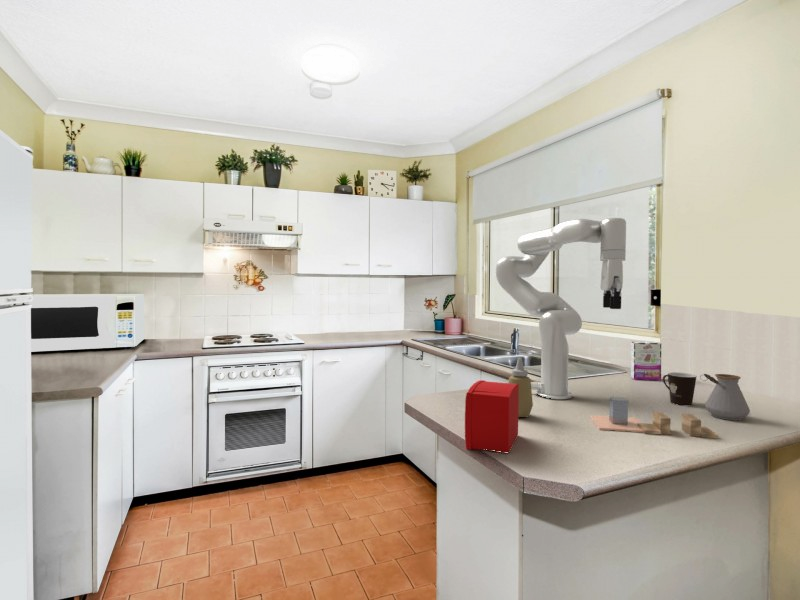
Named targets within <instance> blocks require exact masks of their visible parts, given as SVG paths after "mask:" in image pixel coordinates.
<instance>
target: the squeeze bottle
mask: <svg viewBox="0 0 800 600" xmlns="http://www.w3.org/2000/svg"><path fill="white" fill-rule="evenodd" d="M524 367H525V366H524V362H523V358H522V357H518V358H517V362H516V365H515V368H513V369H511V374H512V375H511V376H509V378H508V383H511V384H519V414H518V417H526V418H528V417H527V416H529V417H530V414H531V412H532V409H533V406H534V403H533V393H532V389H531V384H532V381H531V378H530V377H529V376H528V370H527V369H525V368H524Z"/></svg>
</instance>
